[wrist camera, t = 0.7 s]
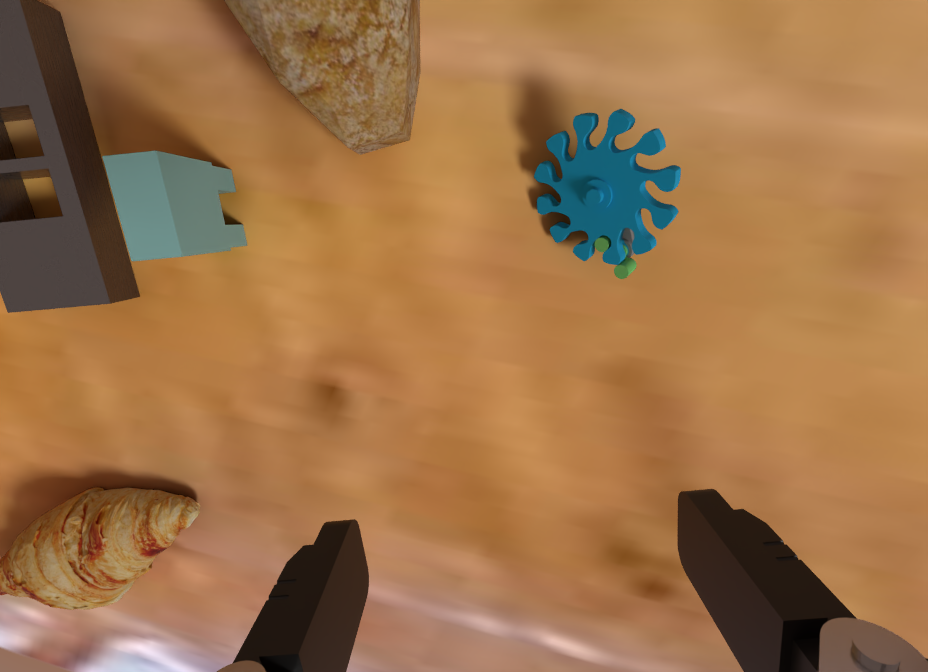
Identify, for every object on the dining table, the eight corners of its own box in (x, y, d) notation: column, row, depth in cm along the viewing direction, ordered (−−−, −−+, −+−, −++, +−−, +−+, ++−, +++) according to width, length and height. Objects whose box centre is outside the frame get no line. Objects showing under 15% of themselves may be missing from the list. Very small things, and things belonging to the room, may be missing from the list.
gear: (512, 138, 30) (658, 86, 23) (558, 121, 34) (697, 71, 27) (552, 284, 35) (686, 280, 27) (589, 256, 38) (717, 245, 31)
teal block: (189, 170, 33) (102, 156, 25) (230, 166, 33) (155, 150, 25) (208, 251, 35) (131, 261, 27) (247, 248, 34) (182, 256, 27)
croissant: (212, 450, 43) (139, 455, 35) (234, 555, 41) (161, 585, 33) (34, 524, 45) (-71, 544, 38) (45, 629, 43) (-66, 673, 35)
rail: (-50, 25, 31) (-104, 4, 28) (59, 11, 31) (16, -10, 28) (45, 305, 36) (7, 312, 33) (139, 296, 36) (110, 303, 33)
